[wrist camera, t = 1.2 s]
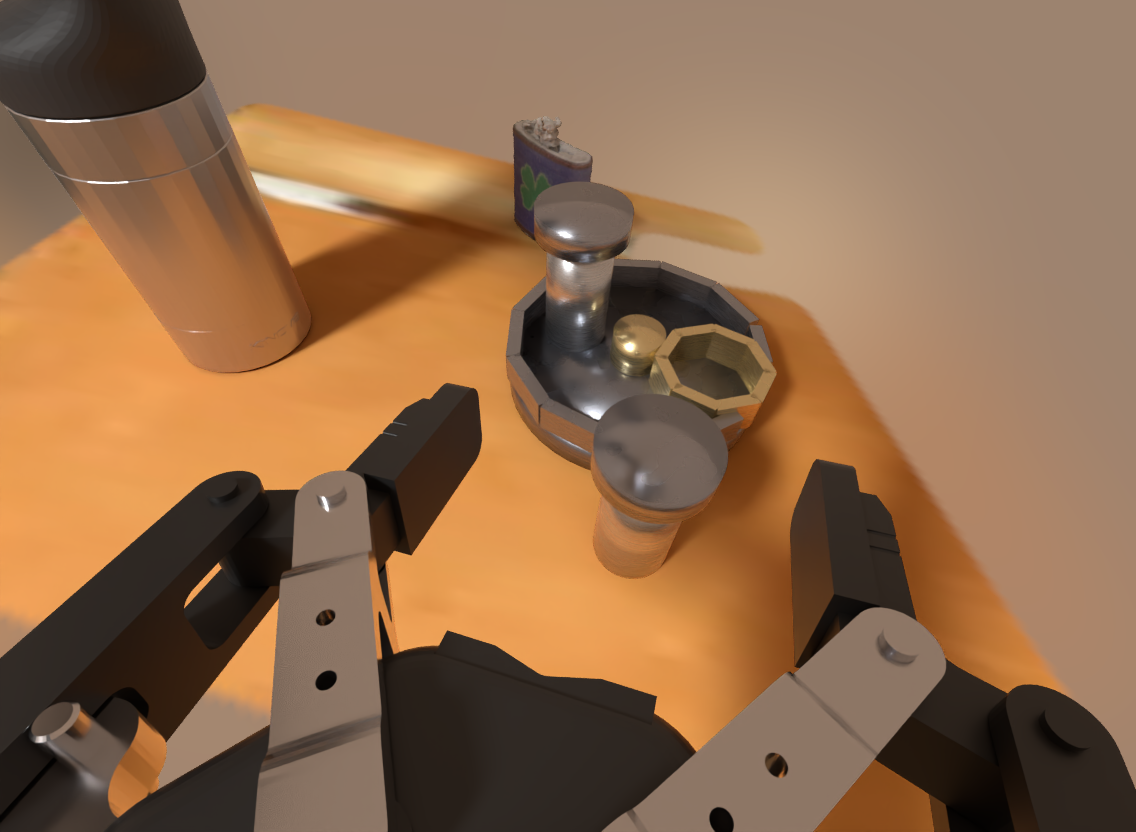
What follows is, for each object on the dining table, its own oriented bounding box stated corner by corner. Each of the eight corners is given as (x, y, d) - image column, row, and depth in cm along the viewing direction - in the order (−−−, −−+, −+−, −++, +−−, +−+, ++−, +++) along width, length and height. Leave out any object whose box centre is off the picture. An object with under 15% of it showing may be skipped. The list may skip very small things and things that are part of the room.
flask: (590, 253, 50) (601, 134, 41) (566, 265, 48) (572, 144, 40) (529, 210, 54) (527, 93, 46) (505, 219, 53) (499, 101, 44)
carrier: (459, 403, 38) (434, 258, 28) (586, 273, 48) (598, 134, 38) (699, 529, 32) (765, 402, 23) (785, 353, 42) (856, 214, 33)
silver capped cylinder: (560, 557, 31) (568, 461, 23) (609, 482, 34) (630, 376, 27) (654, 613, 29) (697, 529, 21) (696, 528, 33) (746, 428, 25)
